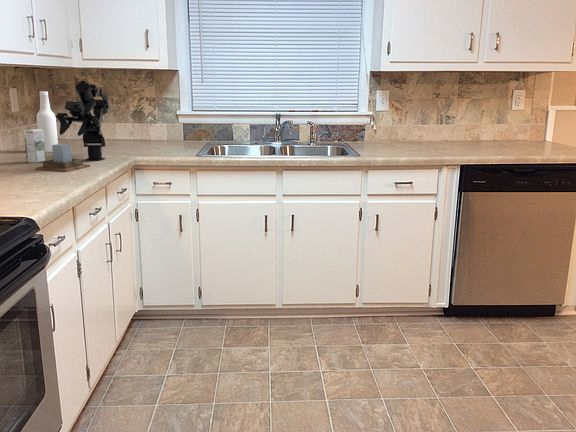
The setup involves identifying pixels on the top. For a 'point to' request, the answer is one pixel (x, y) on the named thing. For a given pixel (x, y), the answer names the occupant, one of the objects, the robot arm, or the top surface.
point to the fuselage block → (62, 153)
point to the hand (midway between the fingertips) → (69, 134)
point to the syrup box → (34, 145)
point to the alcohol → (47, 122)
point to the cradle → (63, 165)
